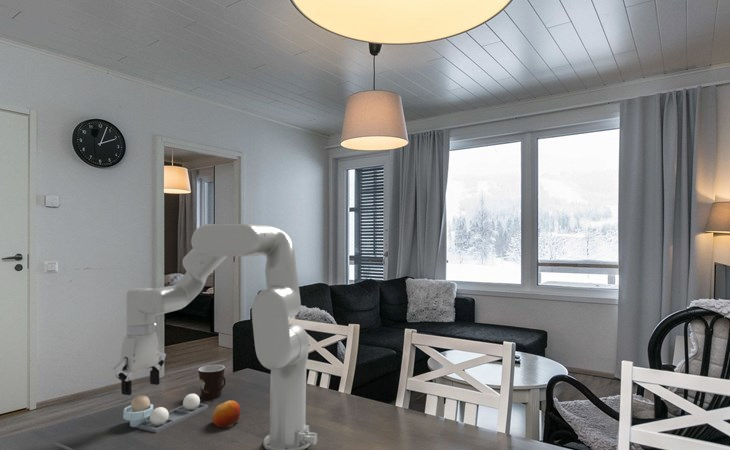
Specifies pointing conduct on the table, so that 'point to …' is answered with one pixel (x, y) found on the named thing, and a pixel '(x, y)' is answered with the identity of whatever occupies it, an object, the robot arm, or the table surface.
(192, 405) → the white egg
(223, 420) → the fruit
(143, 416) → the egg cup
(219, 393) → the coffee mug
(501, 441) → the table surface
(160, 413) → the white egg
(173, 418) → the egg tray
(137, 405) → the egg brown
